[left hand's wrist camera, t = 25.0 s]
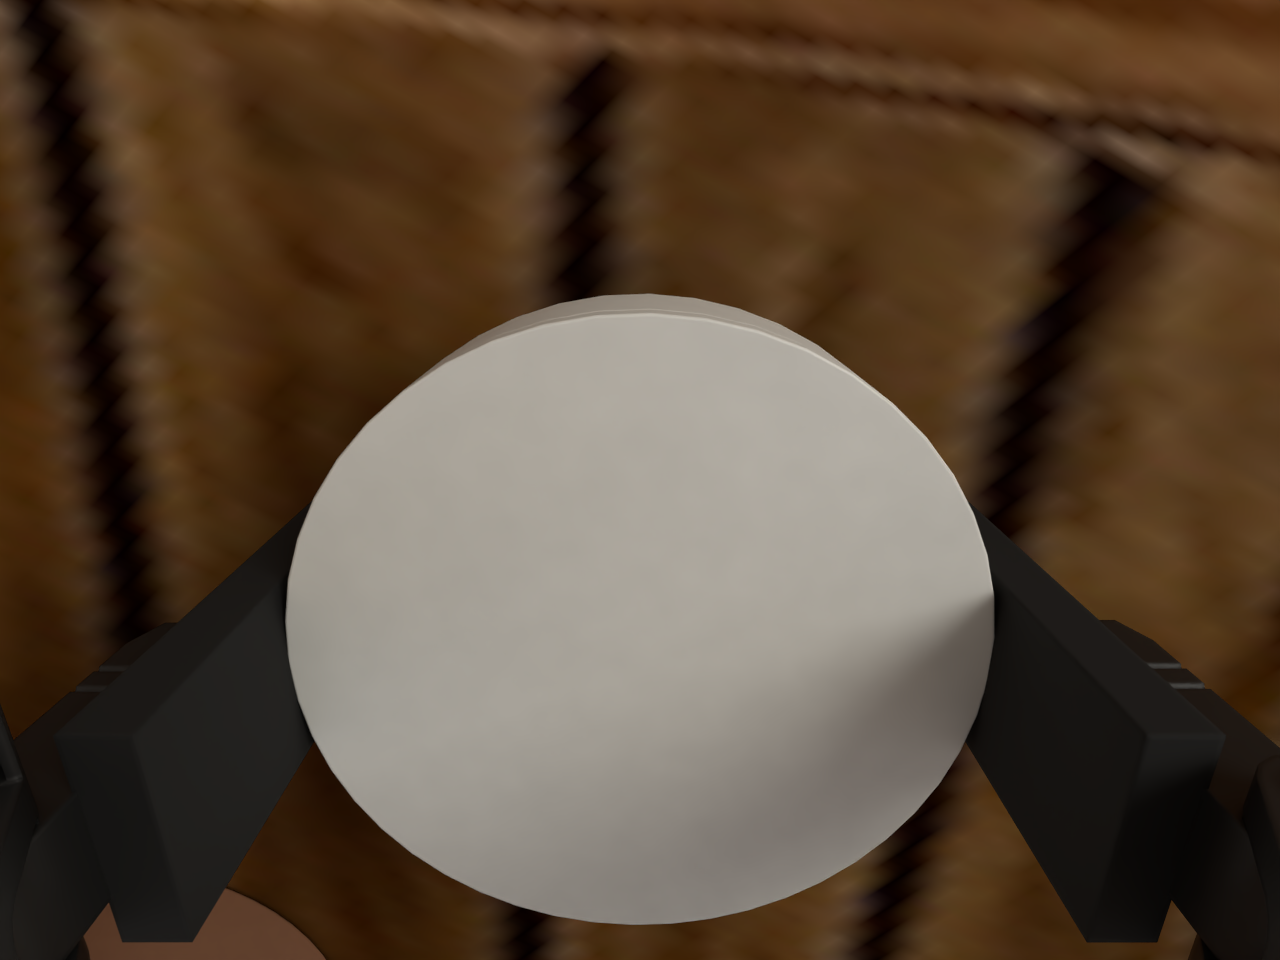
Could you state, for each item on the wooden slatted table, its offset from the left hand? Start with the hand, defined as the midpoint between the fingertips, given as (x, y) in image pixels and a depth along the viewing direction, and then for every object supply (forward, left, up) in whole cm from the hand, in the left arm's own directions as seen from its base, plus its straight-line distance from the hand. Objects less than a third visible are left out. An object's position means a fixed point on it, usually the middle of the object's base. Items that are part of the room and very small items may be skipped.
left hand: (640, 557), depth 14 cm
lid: (0, 0, +3) cm, 3 cm away
